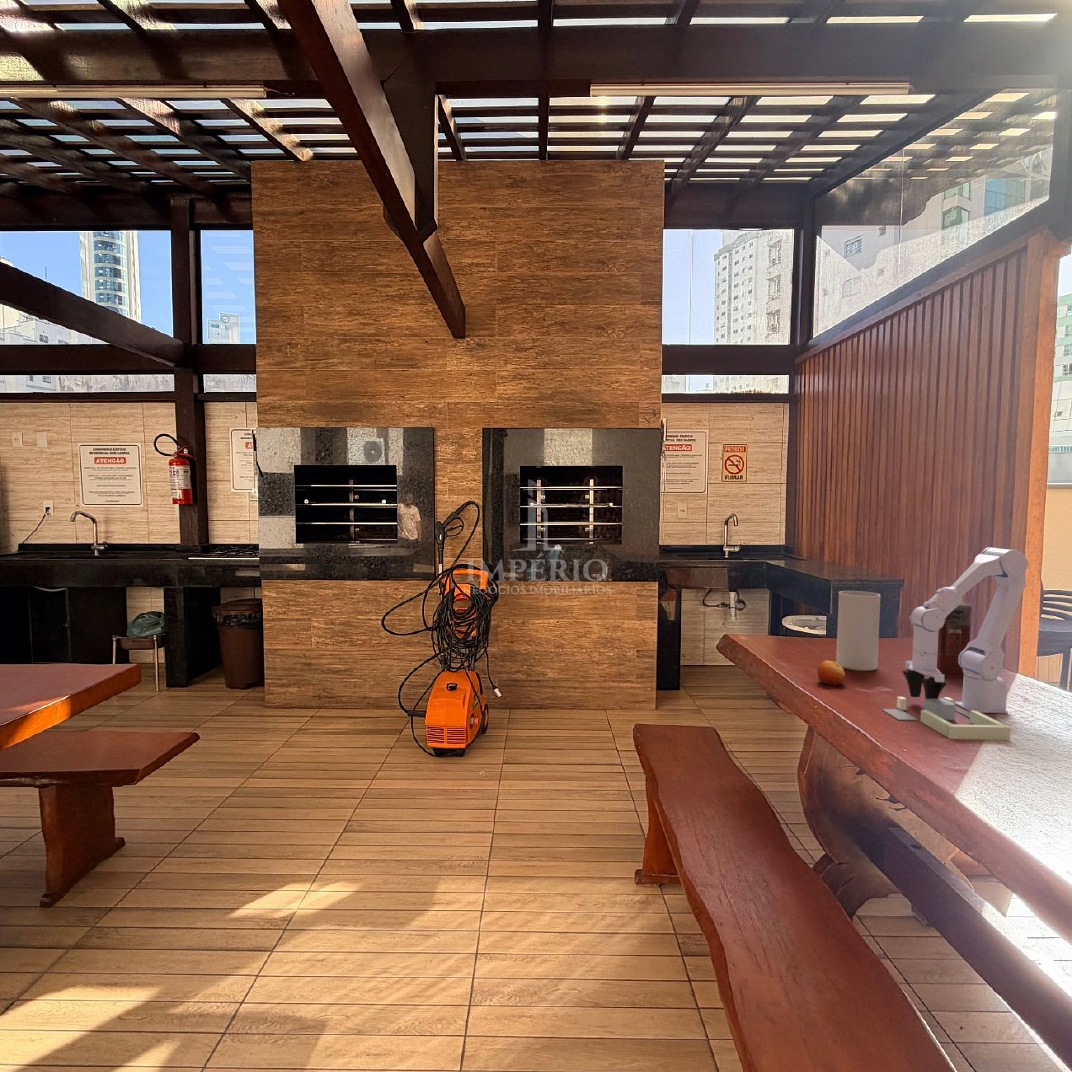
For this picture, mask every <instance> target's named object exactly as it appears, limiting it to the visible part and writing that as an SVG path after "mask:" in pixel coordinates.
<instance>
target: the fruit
mask: <svg viewBox="0 0 1072 1072" xmlns="http://www.w3.org/2000/svg"><path fill="white" fill-rule="evenodd" d="M816 669H817V670H816V671H817V677H818V681H817V684H818V683H824V684H826V685H830V686H833V687H836V686H839V685H840V684H842V683H843V682H844V681H845V679H846V673H845V670H844V669H845V668H843V667H841V666H840V665H839V664H837V663H836V661H831V660H827V659H825V660H824V661H822V662H820V663H819V665H818V667H817V668H816Z"/></svg>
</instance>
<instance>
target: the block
mask: <svg viewBox="0 0 1072 1072" xmlns="http://www.w3.org/2000/svg"><path fill="white" fill-rule="evenodd" d="M923 710H928V711H930V712H931V713H933V714H935V715H937V716H939V717H940V718H942V719H944V720H946V721H955V717H956V711H955V710H956V704H955V703H954V702H953V703H951V702H949V701H947V700H944V699H943V698H938V699H925V698H924V699H923Z"/></svg>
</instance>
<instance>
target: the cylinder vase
mask: <svg viewBox="0 0 1072 1072" xmlns="http://www.w3.org/2000/svg"><path fill="white" fill-rule="evenodd" d="M837 608H838V610H837V611H838V612H837V628H836V629H837V633H836V634H837V635H836V654H835V655H836V656H835V657H836V658H835V659H836V660H835V662H836V663H837V664H839V665H840V666H841V667H842V668H843V669H846V670H852V671H857V672H858V671H860V672H872V671H875V670H877V668H878V659H879V642H880V641H879V636H880V635H879V634H880V616H881V615H880V614H881V613H880V612H881V594H880V593H876V592H870V591H862V590H860V591H858V590H841V591H839V592H838V607H837Z"/></svg>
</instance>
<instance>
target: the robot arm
mask: <svg viewBox="0 0 1072 1072" xmlns="http://www.w3.org/2000/svg"><path fill="white" fill-rule="evenodd" d="M1029 564H1030V562H1029V560H1028V559H1027V558H1026V555H1025V554H1024V553H1023V552H1022V551H1021V550H1018V549H1006V548H998V547H995V546H991V547H990V546H988V547H986V548H985V549H982V551H981V552H980V553H979V554H977V556H975V558H974V561H973V563H971V565H970V566H969V567H968V568H967V569H966V570H965V571H963V573H962V574H961V575H960V576H959V577H958V579H957V580H956V581H954V583H953V584H952V585H950V586H942V588H938V589H937V590H935V592H936V593H935V594H934V595H933V596H932V597H931V598H929V599H928V601H925V602H923V606H917V607H916V608H915V609H913V610H912V612H911V615H909V621H910V623H911V624H912V627H913V629H912V631H913V641H912V660H905V668H906V669H903V670H902V674H903V675H904V677H905V680H906V683H907V687H908V689H909V690H908V691H909V694H910V698H911V697H912V698H920V697H921V693H922V686H923V690H924V699H939V696H940V694H941V693H942V690H943V689H944V688H945V686H946V685H947V681H945V677H944V675H943V674H942V673H941V672H940V671H939V670H938V669H937V652H938V632H939V629H940V628H942V627H943V625H944V622H945V618H946V616H947V615H949V614H950V613H951V612H952V611H953V610H954V609H955V608H956V607H957V606H958V605H959V604H960V603H963V595H965V594H966V593H968V592H969V590H971V589H972V588H973V587H975V586H976V585H977V584H978V583H979V582H981V581H983V580H984V578H986V577H993V578H994V579H995V581H996V583H997V584H998V586H997V588H996V590H995V593H994V596H993V598H992V601H991V603H990V605H989V607H988V610H987V612H986V615H985V617H984V619H983V621H982V625H981V626H980V629H979V631H978V634H977V637H976V638H974V639H972V640H970V642H969V643H968V644H967V646H966V648H965V649H964V650H963V651H962V652H961V653H960V655H959V657H958V662H959V665H960V666H961V667H962V668H963V673H964V677H962V678H963V679H962V680H963V681H962V682H963V683H962V699H961V701H954V704H955V705H957V706H959V707H961V708H962V709H964V710H970V711H978V712H980V713H982V714H987V713H990V714H991V713H993V714H996V713H997V714H1008V712H1009V711H1008V710H1007V698H1008V697H1007V693H1008V688H1007V684H1006V682H1005V680H1004V679H1003V678H1002V677H1000V676H1001V675H1002V673H1003V671H1004V659H1005V657H1006V655H1005V653H1004V651H1003V650H1002V648H1001V646H1002V644H1003V643H1002V642H1003V640H1004V638H1005V635H1006V634H1007V631H1008V629H1009V626H1010V624H1011V621H1012V618H1013V617H1014V615H1015V612H1016V609H1017V607H1018V605H1019V602H1020V600H1021V598H1022V595H1023V593H1024V590H1025V588H1026V584H1027V583H1026V580H1027V579H1026V578H1027V577H1026V576H1027V575H1026V574H1027V573H1026V572H1027V569H1028V566H1029ZM925 677H928V678H925Z"/></svg>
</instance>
